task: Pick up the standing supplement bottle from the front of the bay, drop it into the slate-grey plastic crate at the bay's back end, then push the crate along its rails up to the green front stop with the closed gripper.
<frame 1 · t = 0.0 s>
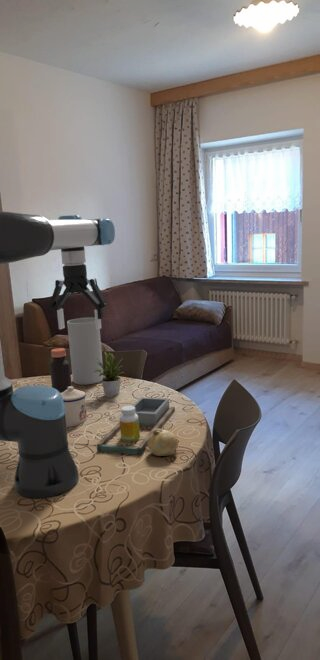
hand: (80, 328, 168), 28 cm above the table, tool pointing down, fingers open, 13 cm apart
vinegar: (63, 405, 179), on the table
crate: (148, 411, 160), point 3 cm above the table, slide at 0.0 cm
cylinder vase: (88, 381, 206), on the table
teacup with lid: (74, 420, 164), on the table
supplement bottle: (130, 440, 145), resting in bay
house plant: (109, 394, 187), on the table
bay: (139, 430, 152), on the table
onion: (163, 454, 135), on the table
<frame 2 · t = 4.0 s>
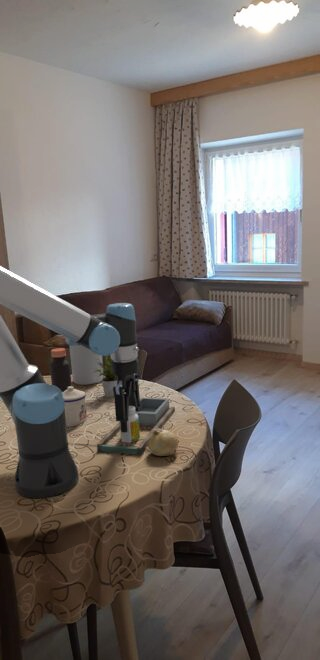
hand: (130, 437, 145), 1 cm above the table, tool pointing down, fingers closed on supplement bottle, 5 cm apart
supplement bottle: (130, 440, 145), resting in bay, touching gripper
everything else where it was.
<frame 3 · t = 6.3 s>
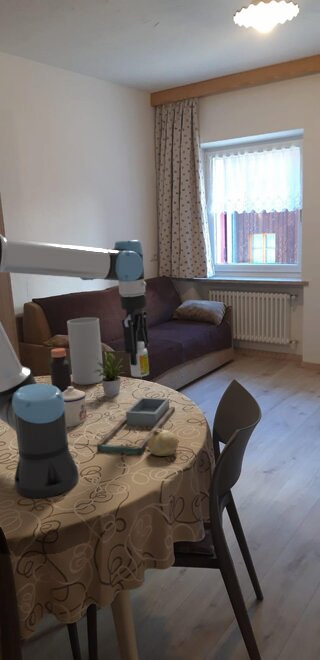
hand: (140, 371, 150), 18 cm above the table, tool pointing down, fingers closed on supplement bottle, 5 cm apart
supplement bottle: (140, 375, 150), point 17 cm above the table, touching gripper
everything else where it was.
when the fingers open (5 cm above the table, at t = 8.9 s): supplement bottle drops 2 cm, resting on crate.
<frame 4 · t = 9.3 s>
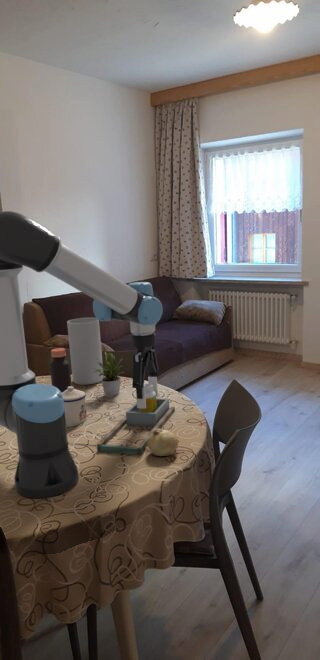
hand: (147, 401, 159), 6 cm above the table, tool pointing down, fingers open, 10 cm apart
crate: (148, 411, 160), point 3 cm above the table, slide at 0.1 cm, touching supplement bottle
supplement bottle: (148, 415, 160), point 1 cm above the table, touching crate
everything else where it was.
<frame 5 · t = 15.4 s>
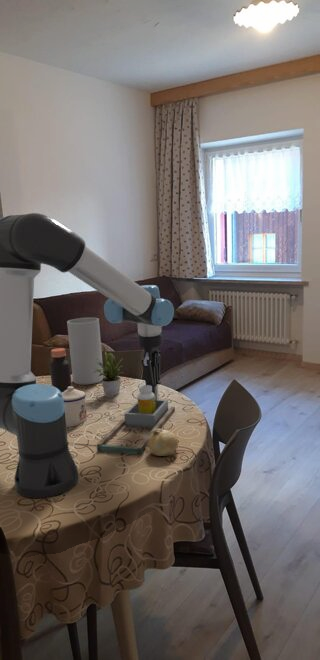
hand: (154, 404, 165), 3 cm above the table, tool pointing down, fingers closed
crate: (147, 412, 158), point 3 cm above the table, slide at 1.3 cm, touching supplement bottle, gripper
supplement bottle: (147, 417, 159), point 1 cm above the table, touching crate
everything else where it was.
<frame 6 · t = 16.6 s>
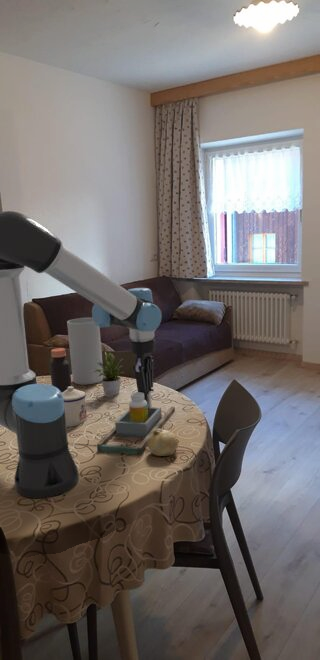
hand: (147, 412, 159), 3 cm above the table, tool pointing down, fingers closed
crate: (139, 421, 152), point 3 cm above the table, slide at 8.4 cm, touching supplement bottle, gripper
supplement bottle: (139, 425, 152), point 1 cm above the table, touching crate
everything else where it was.
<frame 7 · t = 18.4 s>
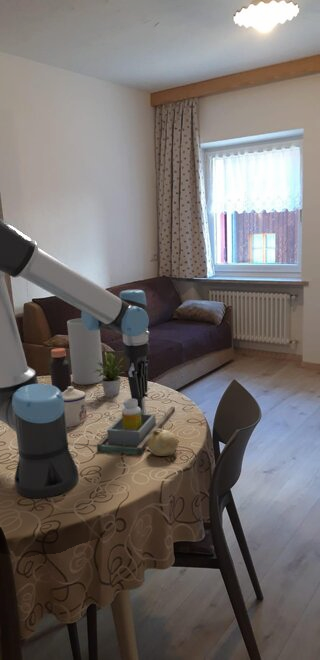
hand: (141, 418, 153), 3 cm above the table, tool pointing down, fingers closed
crate: (132, 428, 147), point 3 cm above the table, slide at 14.0 cm, touching supplement bottle, gripper
supplement bottle: (132, 433, 147), point 1 cm above the table, touching crate
everything else where it was.
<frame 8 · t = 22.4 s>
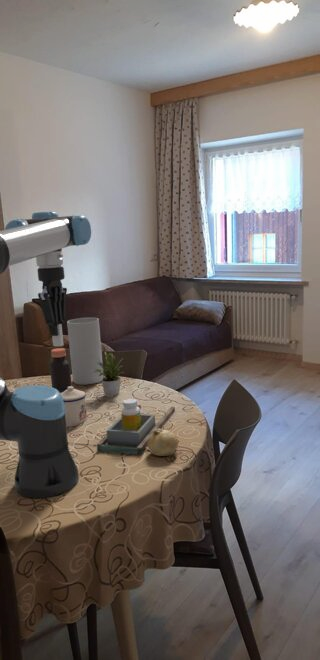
hand: (58, 345, 152), 26 cm above the table, tool pointing down, fingers closed
crate: (131, 429, 146), point 3 cm above the table, slide at 14.4 cm, touching supplement bottle
everything else where it was.
at the end: crate slide at 14.4 cm; supplement bottle inside the target area on the crate (0.0 cm from its centre), point 0.6 cm above the crate's base; the gripper is holding nothing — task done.
